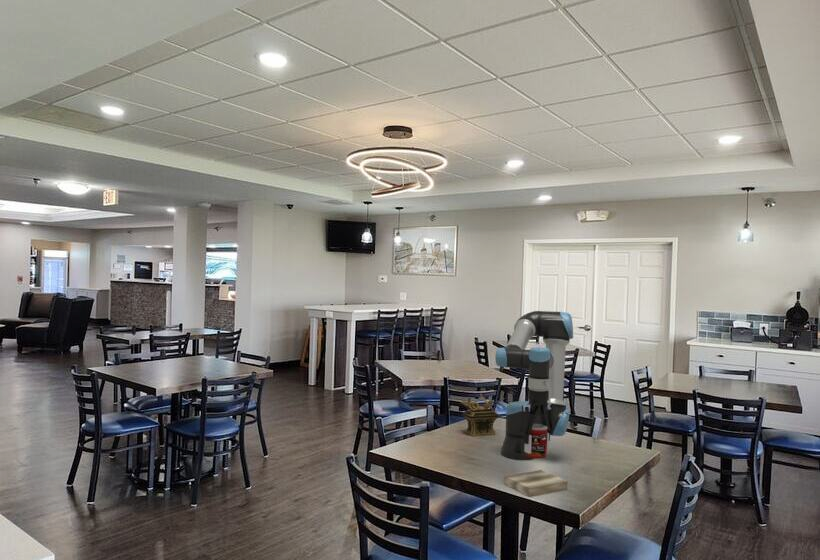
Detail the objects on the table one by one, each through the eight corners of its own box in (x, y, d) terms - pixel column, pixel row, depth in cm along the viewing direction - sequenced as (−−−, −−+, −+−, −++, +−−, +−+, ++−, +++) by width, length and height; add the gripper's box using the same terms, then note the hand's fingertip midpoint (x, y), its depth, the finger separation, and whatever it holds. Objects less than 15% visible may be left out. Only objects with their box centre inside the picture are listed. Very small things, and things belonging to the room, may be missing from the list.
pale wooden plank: (504, 484, 208) (504, 476, 208) (540, 477, 217) (540, 469, 217) (529, 496, 195) (530, 488, 196) (567, 489, 204) (567, 481, 204)
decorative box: (489, 430, 289) (491, 392, 289) (499, 435, 280) (500, 395, 280) (455, 432, 281) (456, 393, 282) (463, 437, 272) (465, 397, 273)
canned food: (524, 457, 204) (525, 427, 204) (526, 451, 211) (527, 422, 211) (546, 460, 201) (547, 429, 202) (547, 454, 209) (548, 424, 209)
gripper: (523, 392, 198) (521, 457, 198) (566, 389, 209) (564, 450, 208) (510, 389, 205) (508, 451, 204) (552, 386, 215) (550, 445, 215)
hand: (536, 451), depth 206 cm, fingers closed on canned food, 8 cm apart
